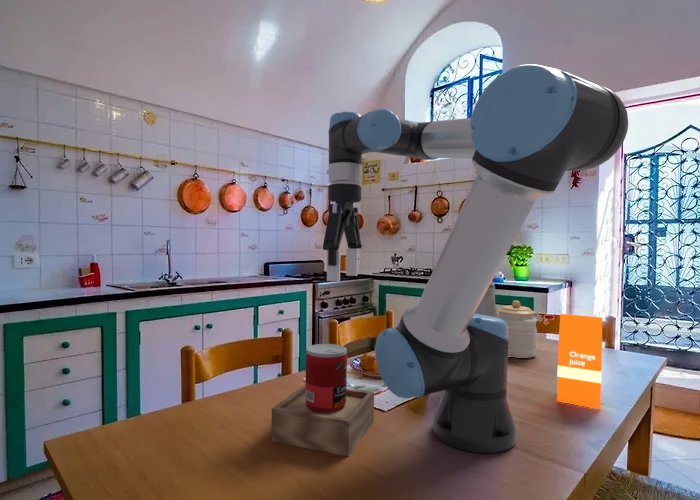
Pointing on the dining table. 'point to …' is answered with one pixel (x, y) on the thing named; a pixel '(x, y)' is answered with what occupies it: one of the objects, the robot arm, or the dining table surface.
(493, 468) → the dining table surface
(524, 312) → the jar
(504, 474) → the dining table surface
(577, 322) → the orange juice
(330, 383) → the canned food
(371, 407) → the box
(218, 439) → the dining table surface
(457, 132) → the robot arm
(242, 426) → the dining table surface
